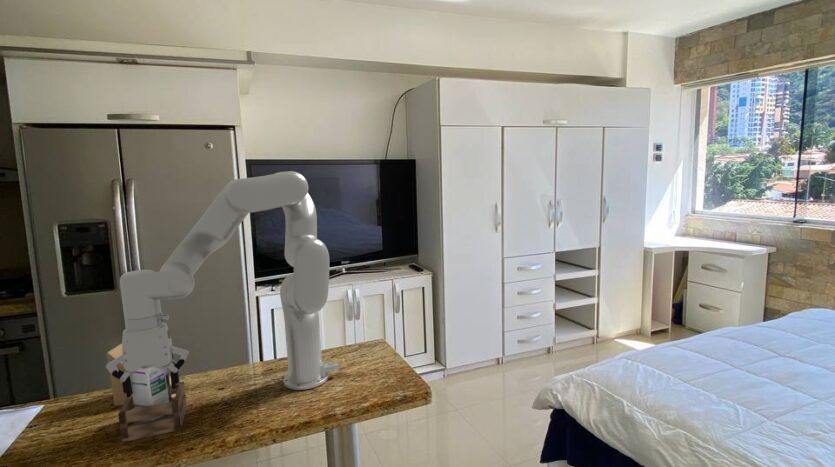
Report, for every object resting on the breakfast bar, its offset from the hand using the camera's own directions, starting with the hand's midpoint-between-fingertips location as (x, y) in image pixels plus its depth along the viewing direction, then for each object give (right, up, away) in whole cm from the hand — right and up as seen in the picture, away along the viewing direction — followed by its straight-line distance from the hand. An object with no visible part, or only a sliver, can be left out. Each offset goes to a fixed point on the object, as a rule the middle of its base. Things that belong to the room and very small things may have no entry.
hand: (152, 390), depth 107 cm
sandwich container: (-10, -7, +16) cm, 20 cm away
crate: (0, -8, +1) cm, 8 cm away
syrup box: (0, -8, +1) cm, 8 cm away
